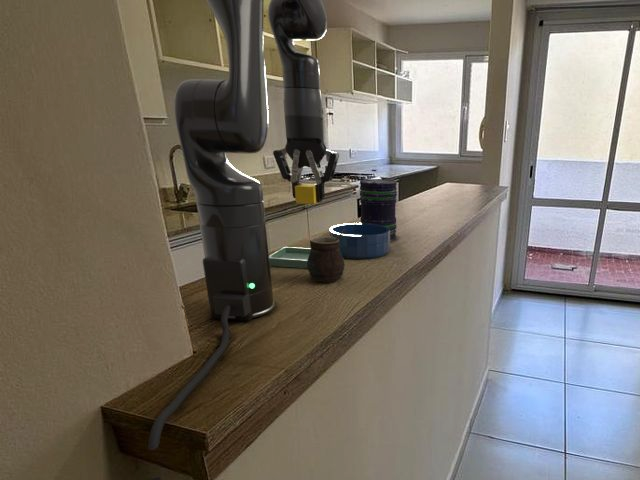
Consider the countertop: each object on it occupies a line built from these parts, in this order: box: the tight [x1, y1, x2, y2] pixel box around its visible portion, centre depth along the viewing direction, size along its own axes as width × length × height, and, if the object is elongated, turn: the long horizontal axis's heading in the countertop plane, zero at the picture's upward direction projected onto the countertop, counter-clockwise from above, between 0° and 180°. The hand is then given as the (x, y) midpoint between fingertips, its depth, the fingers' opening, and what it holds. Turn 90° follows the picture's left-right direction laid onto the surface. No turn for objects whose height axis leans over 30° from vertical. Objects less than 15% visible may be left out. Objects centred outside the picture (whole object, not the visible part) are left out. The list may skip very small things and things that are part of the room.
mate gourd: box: [307, 229, 346, 283], centre depth 86 cm, size 7×8×10 cm
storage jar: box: [359, 169, 398, 242], centre depth 119 cm, size 10×10×18 cm
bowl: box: [329, 222, 391, 260], centre depth 107 cm, size 14×14×6 cm
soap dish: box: [269, 246, 311, 269], centre depth 99 cm, size 10×11×2 cm
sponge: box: [295, 183, 319, 205], centre depth 96 cm, size 5×4×4 cm
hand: (309, 200), depth 96 cm, fingers closed on sponge, 4 cm apart
